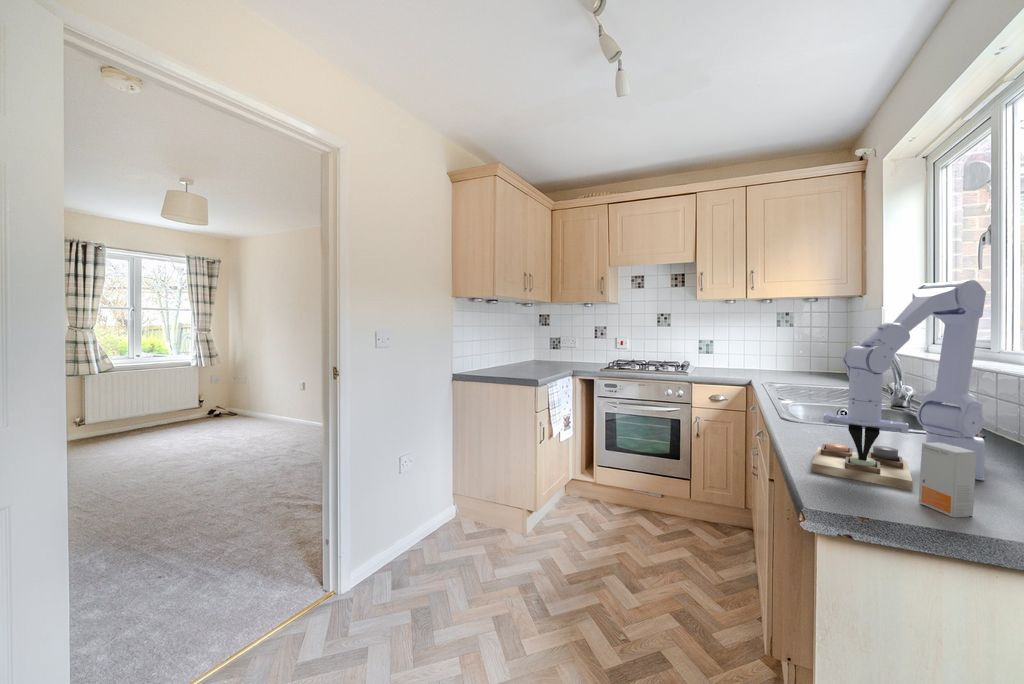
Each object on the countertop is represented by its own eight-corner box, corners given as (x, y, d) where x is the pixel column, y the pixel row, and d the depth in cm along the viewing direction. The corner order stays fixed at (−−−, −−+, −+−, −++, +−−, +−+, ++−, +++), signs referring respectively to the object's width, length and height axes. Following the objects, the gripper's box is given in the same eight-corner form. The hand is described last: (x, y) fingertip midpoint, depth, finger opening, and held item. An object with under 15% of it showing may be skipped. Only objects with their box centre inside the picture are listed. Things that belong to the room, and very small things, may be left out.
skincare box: (917, 503, 81) (920, 442, 80) (937, 502, 81) (940, 441, 81) (953, 518, 75) (956, 452, 74) (974, 517, 75) (978, 451, 75)
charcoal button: (897, 455, 99) (897, 448, 98) (898, 460, 95) (898, 452, 95) (872, 451, 101) (872, 444, 101) (872, 456, 98) (873, 448, 98)
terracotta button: (848, 452, 105) (848, 445, 105) (847, 456, 102) (847, 449, 102) (826, 449, 108) (826, 442, 108) (825, 453, 105) (825, 446, 105)
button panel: (906, 468, 100) (907, 455, 100) (911, 490, 87) (912, 475, 87) (818, 454, 111) (818, 442, 110) (811, 471, 98) (812, 458, 98)
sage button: (875, 466, 95) (875, 458, 95) (875, 471, 92) (875, 463, 92) (850, 462, 98) (850, 454, 98) (849, 467, 95) (849, 459, 94)
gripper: (823, 398, 96) (821, 457, 96) (910, 406, 86) (907, 471, 87) (825, 394, 101) (823, 449, 102) (908, 401, 92) (905, 462, 92)
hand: (862, 459), depth 95 cm, fingers closed, pressing on sage button
